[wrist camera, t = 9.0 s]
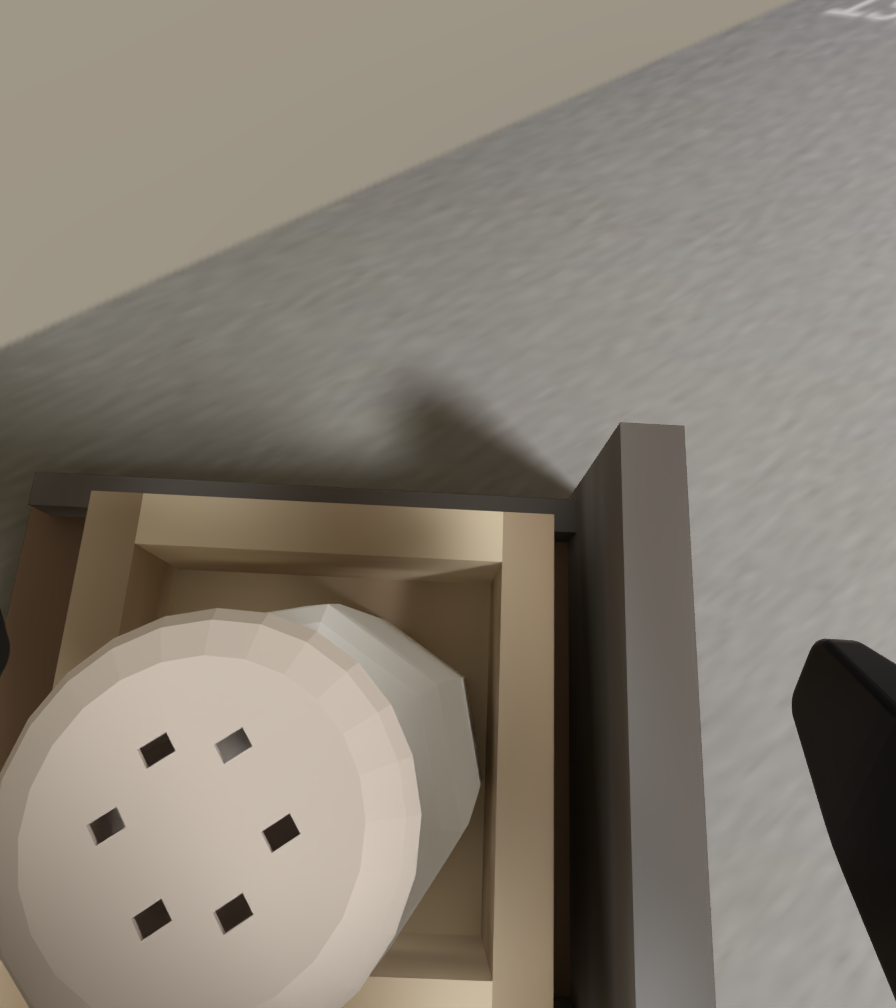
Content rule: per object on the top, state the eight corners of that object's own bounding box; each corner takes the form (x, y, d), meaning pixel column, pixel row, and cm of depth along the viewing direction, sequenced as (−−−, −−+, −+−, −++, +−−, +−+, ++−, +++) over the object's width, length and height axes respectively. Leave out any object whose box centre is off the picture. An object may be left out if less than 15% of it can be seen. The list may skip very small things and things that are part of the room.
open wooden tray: (-103, 1247, 14) (-462, 1611, 8) (58, 485, 19) (-104, 382, 13) (693, 1272, 14) (871, 1640, 9) (660, 515, 19) (763, 430, 13)
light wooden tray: (85, 960, 15) (-16, 1034, 11) (156, 534, 17) (91, 490, 14) (523, 977, 15) (553, 1055, 11) (529, 553, 17) (554, 514, 14)
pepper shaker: (180, 706, 15) (-389, 686, 5) (400, 572, 16) (354, 301, 5) (305, 950, 14) (-74, 1710, 3) (534, 790, 15) (810, 981, 4)
